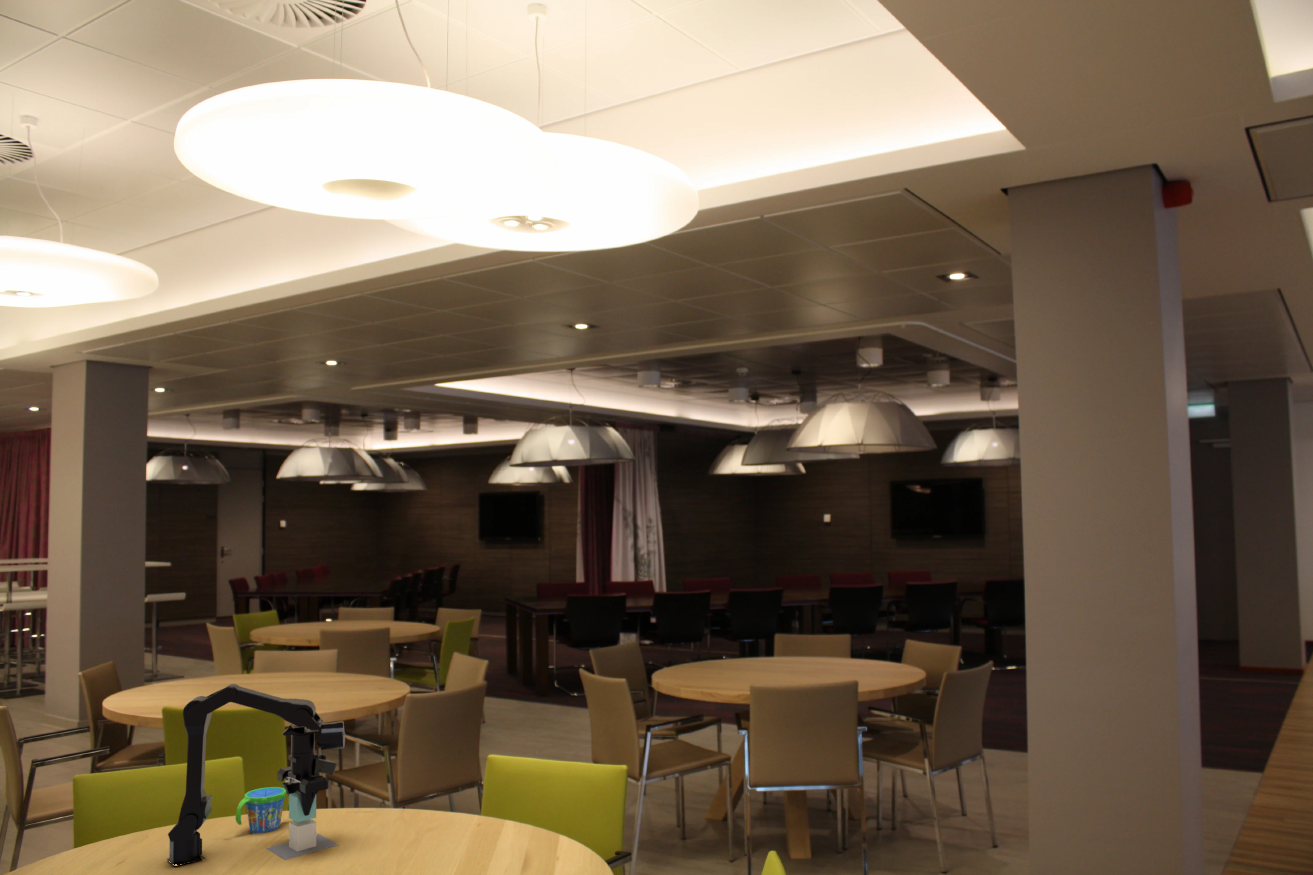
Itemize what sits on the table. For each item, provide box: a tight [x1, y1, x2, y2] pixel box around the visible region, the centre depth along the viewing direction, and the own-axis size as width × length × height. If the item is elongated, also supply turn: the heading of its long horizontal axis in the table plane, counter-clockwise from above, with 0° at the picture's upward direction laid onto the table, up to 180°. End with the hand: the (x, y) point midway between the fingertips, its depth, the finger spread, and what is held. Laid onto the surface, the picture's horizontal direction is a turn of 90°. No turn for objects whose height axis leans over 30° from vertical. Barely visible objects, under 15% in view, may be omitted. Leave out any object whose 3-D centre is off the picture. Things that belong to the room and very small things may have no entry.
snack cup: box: [235, 786, 289, 834], centre depth 257 cm, size 16×10×10 cm
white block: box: [288, 819, 317, 851], centre depth 241 cm, size 5×5×6 cm
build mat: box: [265, 833, 339, 861], centre depth 241 cm, size 14×12×1 cm
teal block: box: [288, 792, 317, 822], centre depth 242 cm, size 5×5×6 cm
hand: (302, 812), depth 242 cm, fingers closed on teal block, 5 cm apart
